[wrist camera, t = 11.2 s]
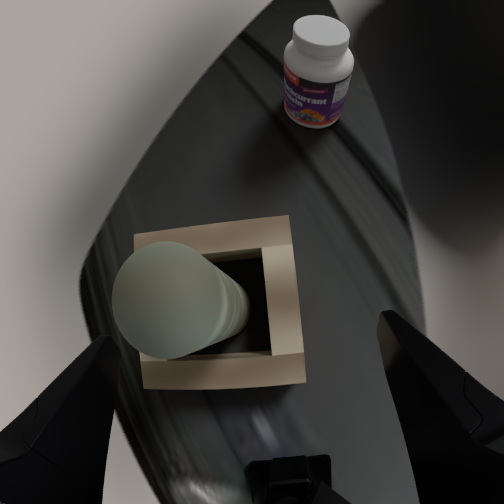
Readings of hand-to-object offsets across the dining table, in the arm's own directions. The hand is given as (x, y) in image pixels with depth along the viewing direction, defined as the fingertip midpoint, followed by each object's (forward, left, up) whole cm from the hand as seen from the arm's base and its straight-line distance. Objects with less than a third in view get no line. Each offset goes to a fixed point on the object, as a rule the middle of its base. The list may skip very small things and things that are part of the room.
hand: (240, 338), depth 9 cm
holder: (+2, +3, -14) cm, 14 cm away
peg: (+1, +3, -14) cm, 14 cm away
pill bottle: (+19, -7, -14) cm, 24 cm away
